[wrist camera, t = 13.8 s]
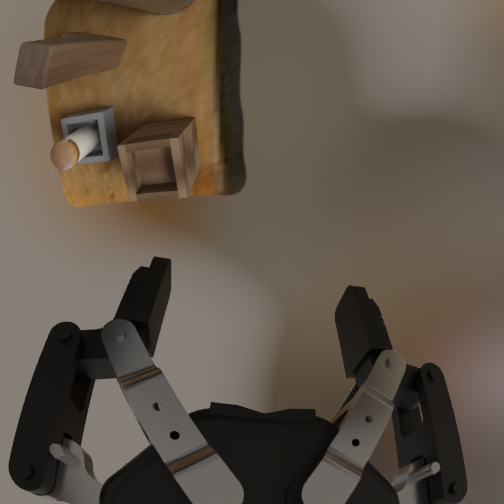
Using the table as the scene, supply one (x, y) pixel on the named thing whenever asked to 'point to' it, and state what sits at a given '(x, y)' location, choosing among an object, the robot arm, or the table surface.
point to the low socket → (106, 129)
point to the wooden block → (66, 58)
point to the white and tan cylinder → (75, 146)
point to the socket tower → (161, 160)
